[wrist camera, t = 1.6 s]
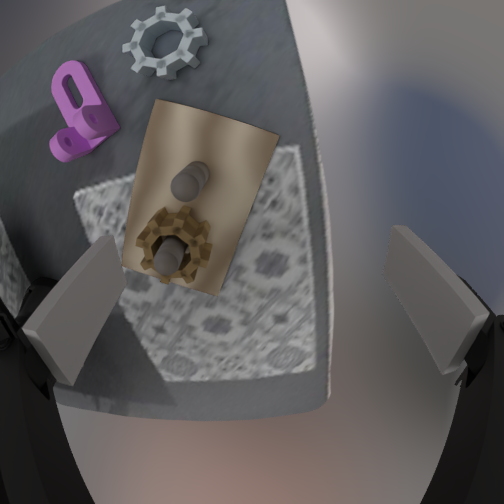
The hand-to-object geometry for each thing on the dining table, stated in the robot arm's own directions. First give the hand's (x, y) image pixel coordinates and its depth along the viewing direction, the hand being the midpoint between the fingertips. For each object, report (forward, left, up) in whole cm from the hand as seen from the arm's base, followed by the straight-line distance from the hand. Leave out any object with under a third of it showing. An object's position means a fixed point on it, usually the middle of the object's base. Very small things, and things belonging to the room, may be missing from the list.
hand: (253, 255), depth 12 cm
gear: (-13, +11, -21) cm, 27 cm away
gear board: (-5, -6, -21) cm, 22 cm away
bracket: (-23, +3, -21) cm, 31 cm away
